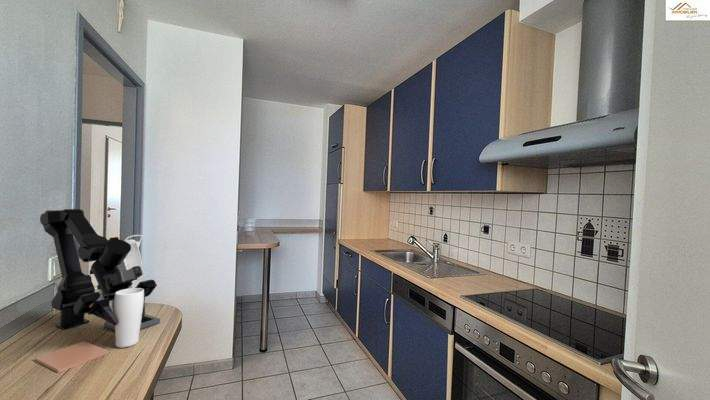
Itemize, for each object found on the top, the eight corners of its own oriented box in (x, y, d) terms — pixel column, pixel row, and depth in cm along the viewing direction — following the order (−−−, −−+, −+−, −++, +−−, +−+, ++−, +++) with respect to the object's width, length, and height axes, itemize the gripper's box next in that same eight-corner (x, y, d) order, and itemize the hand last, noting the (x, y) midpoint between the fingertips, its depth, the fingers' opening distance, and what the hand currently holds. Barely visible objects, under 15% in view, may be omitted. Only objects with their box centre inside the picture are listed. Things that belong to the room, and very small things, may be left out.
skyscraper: (132, 308, 111) (134, 233, 111) (147, 311, 108) (148, 235, 108) (107, 316, 103) (108, 236, 103) (122, 320, 100) (123, 237, 100)
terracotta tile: (34, 360, 75) (35, 357, 75) (84, 343, 84) (84, 341, 84) (58, 372, 70) (58, 369, 70) (108, 353, 79) (108, 350, 79)
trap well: (104, 327, 94) (104, 322, 94) (138, 316, 103) (138, 312, 103) (126, 335, 89) (126, 330, 89) (159, 323, 98) (160, 318, 98)
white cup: (125, 351, 80) (128, 295, 80) (105, 348, 81) (108, 293, 81) (147, 340, 86) (150, 288, 86) (128, 337, 88) (131, 286, 88)
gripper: (79, 265, 77) (102, 314, 72) (153, 253, 94) (176, 293, 89) (63, 291, 80) (84, 340, 75) (138, 275, 97) (159, 314, 92)
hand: (130, 320), depth 83 cm, fingers closed on white cup, 7 cm apart
